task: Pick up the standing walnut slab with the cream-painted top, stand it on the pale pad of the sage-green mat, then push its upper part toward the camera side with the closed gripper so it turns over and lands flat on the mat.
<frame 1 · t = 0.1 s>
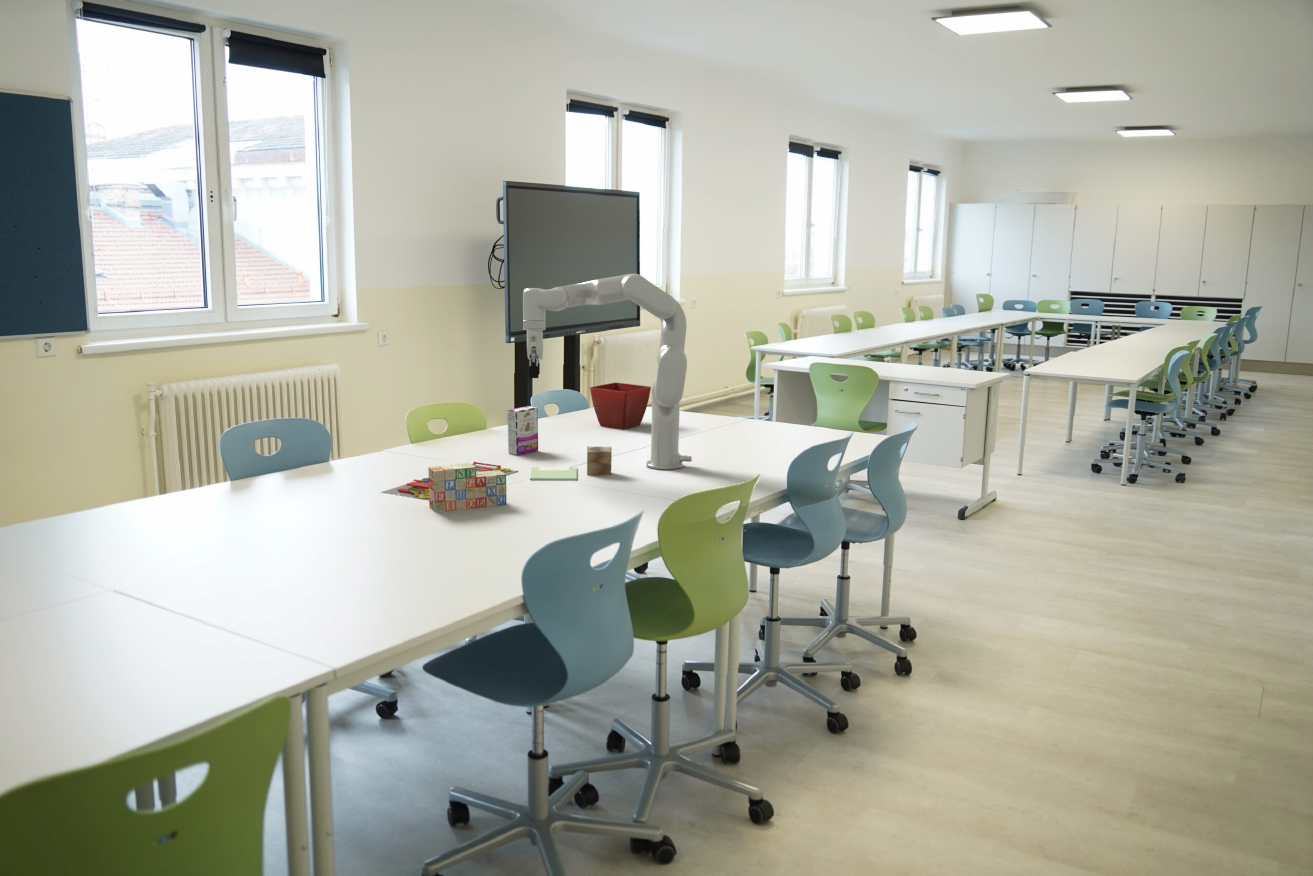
hand: (534, 376, 333), 31 cm above the table, fingers open, 9 cm apart
green mat: (553, 474, 327), on the table
gear board: (452, 483, 315), on the table
walnut slab: (599, 474, 329), on the table
plant pot: (620, 426, 417), on the table
candy bar box: (523, 453, 360), on the table
stack of blocks: (468, 507, 286), on the table
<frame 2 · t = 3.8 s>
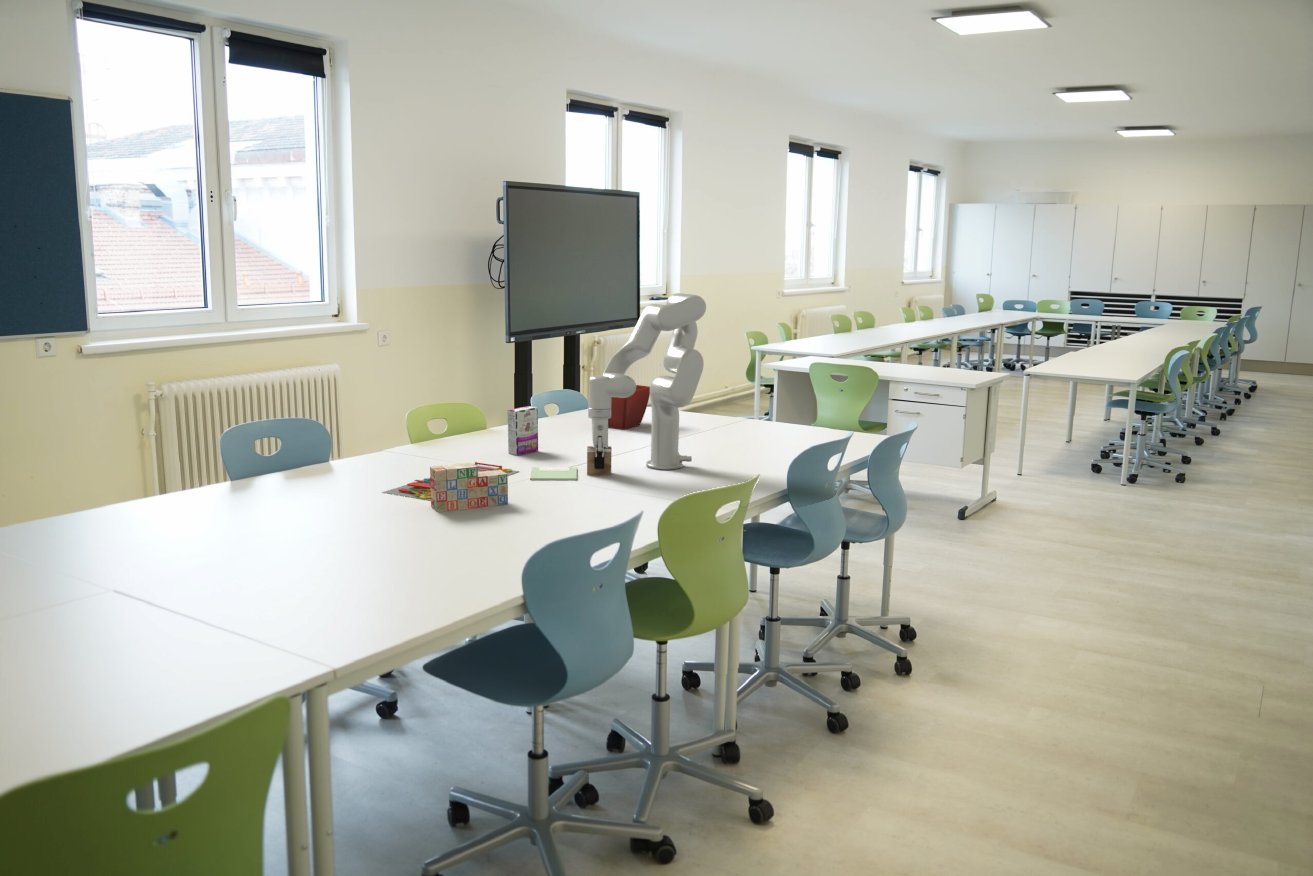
hand: (599, 466, 329), 3 cm above the table, fingers closed on walnut slab, 4 cm apart
walnut slab: (599, 474, 329), on the table, touching gripper
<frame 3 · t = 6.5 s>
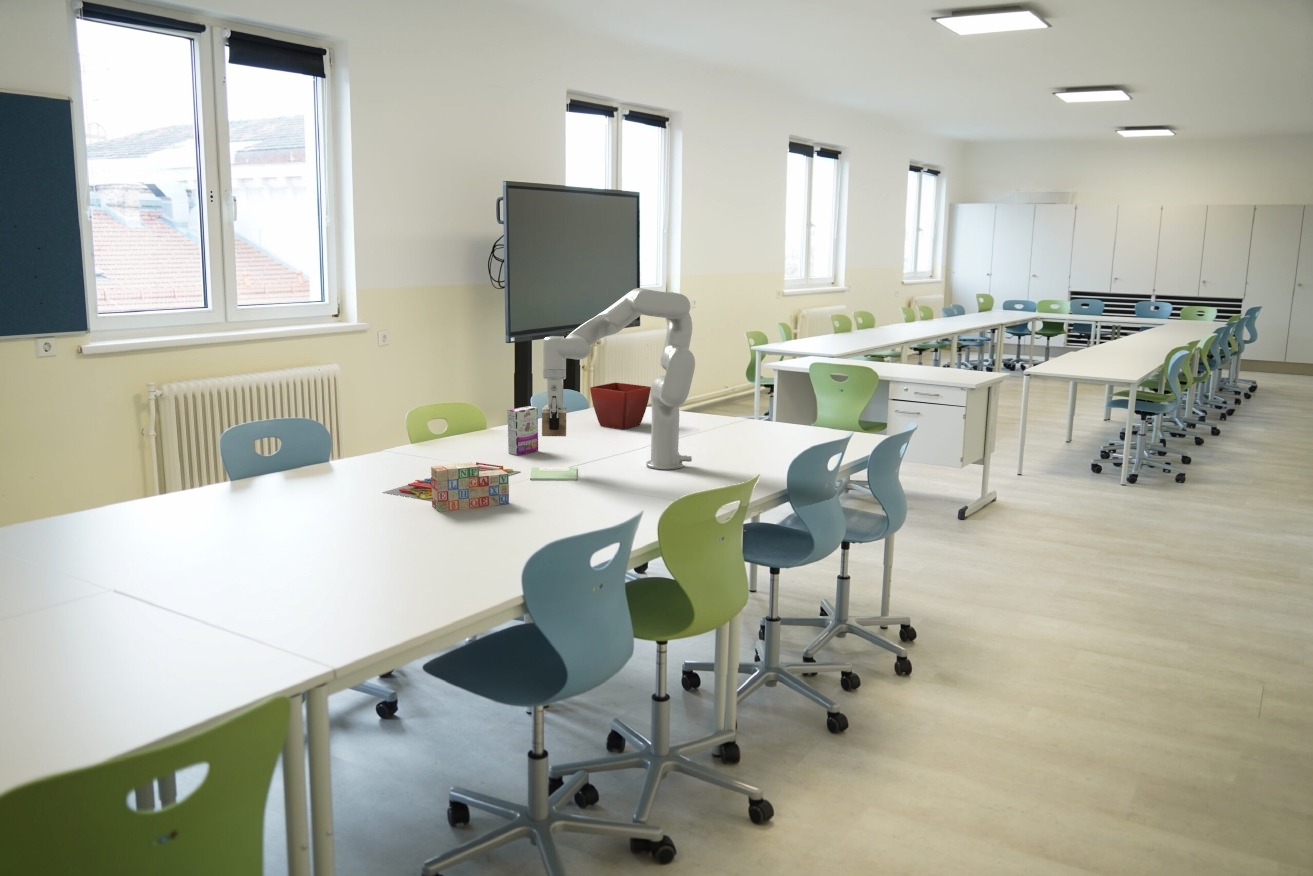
hand: (554, 427, 329), 15 cm above the table, fingers closed on walnut slab, 4 cm apart
walnut slab: (554, 435, 329), point 12 cm above the table, touching gripper
when the fingers open (4 cm above the table, at t = 9.0 s): walnut slab stays where it is, resting on green mat.
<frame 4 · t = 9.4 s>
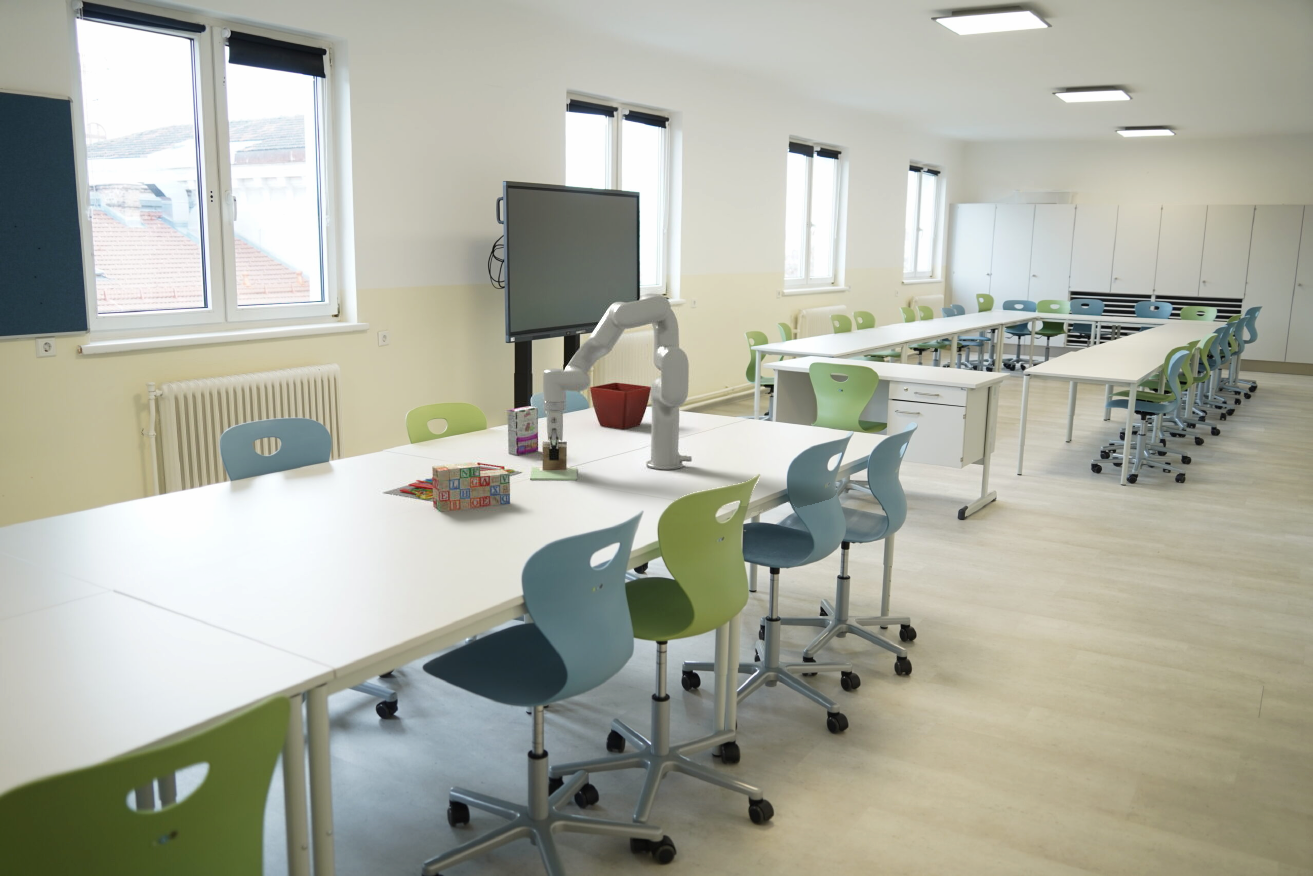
hand: (554, 457, 331), 5 cm above the table, fingers open, 8 cm apart
walnut slab: (554, 468, 332), point 1 cm above the table, touching green mat
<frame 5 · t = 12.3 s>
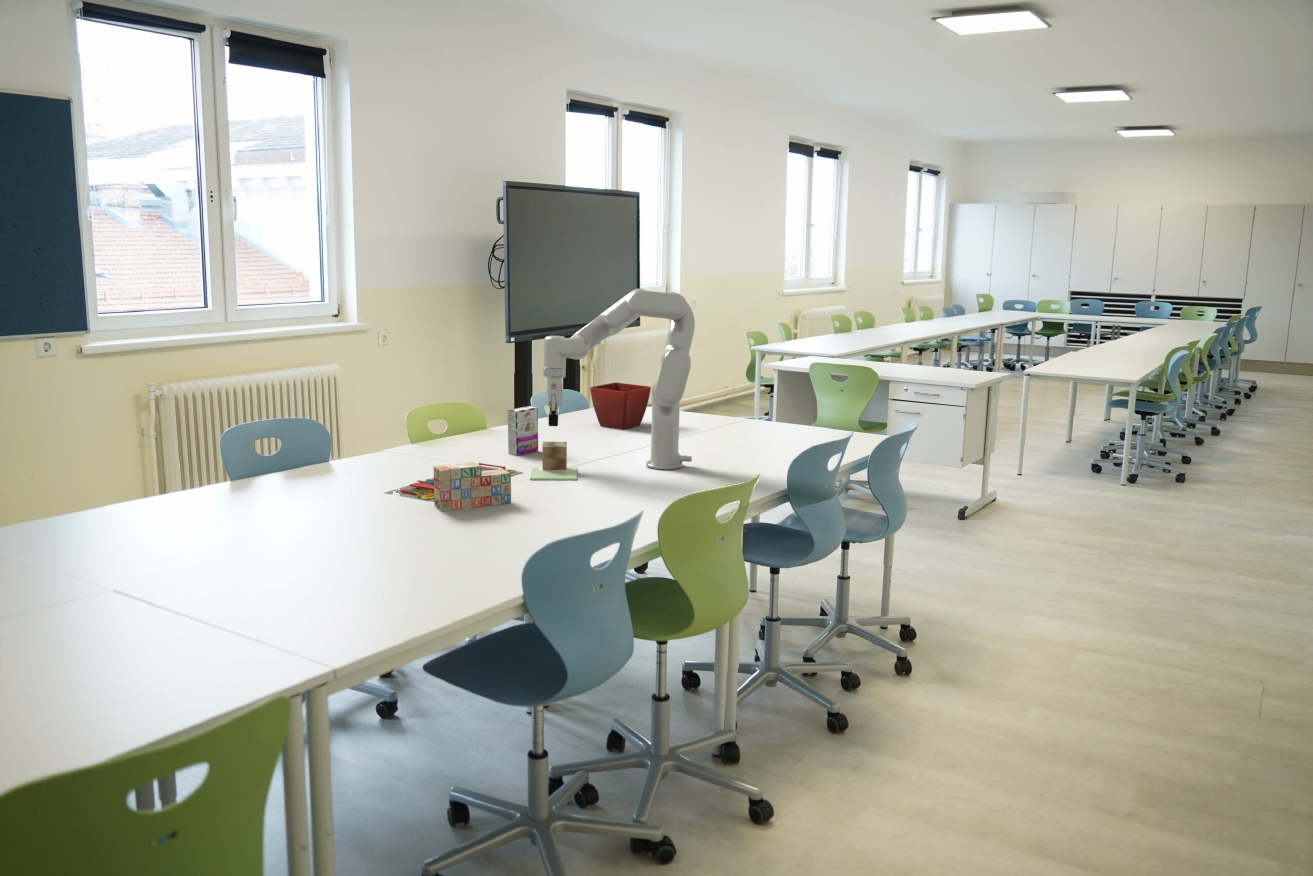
hand: (553, 425, 337), 14 cm above the table, fingers closed
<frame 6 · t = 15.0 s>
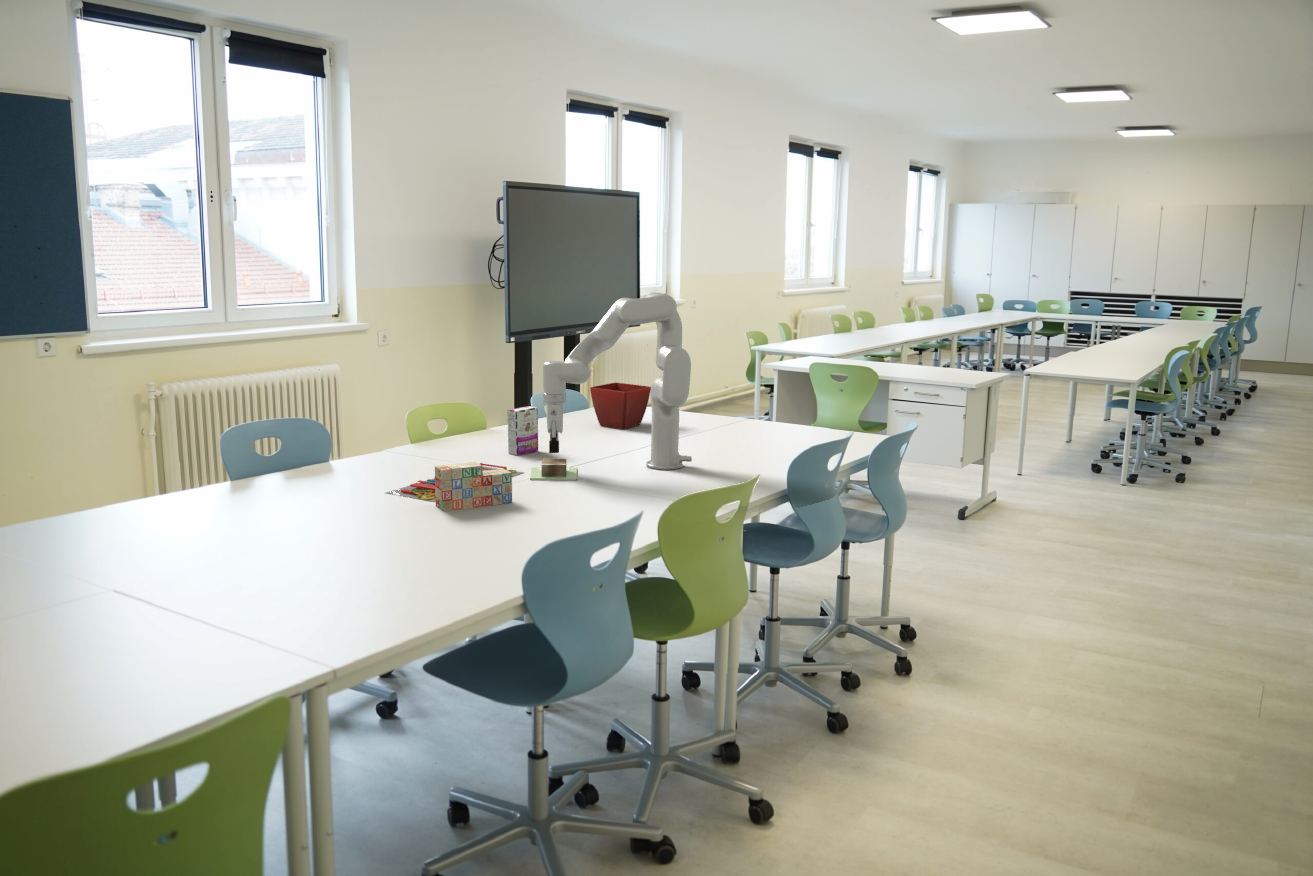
hand: (554, 452, 329), 7 cm above the table, fingers closed
walnut slab: (554, 464, 329), point 3 cm above the table, tilted 90°, touching green mat
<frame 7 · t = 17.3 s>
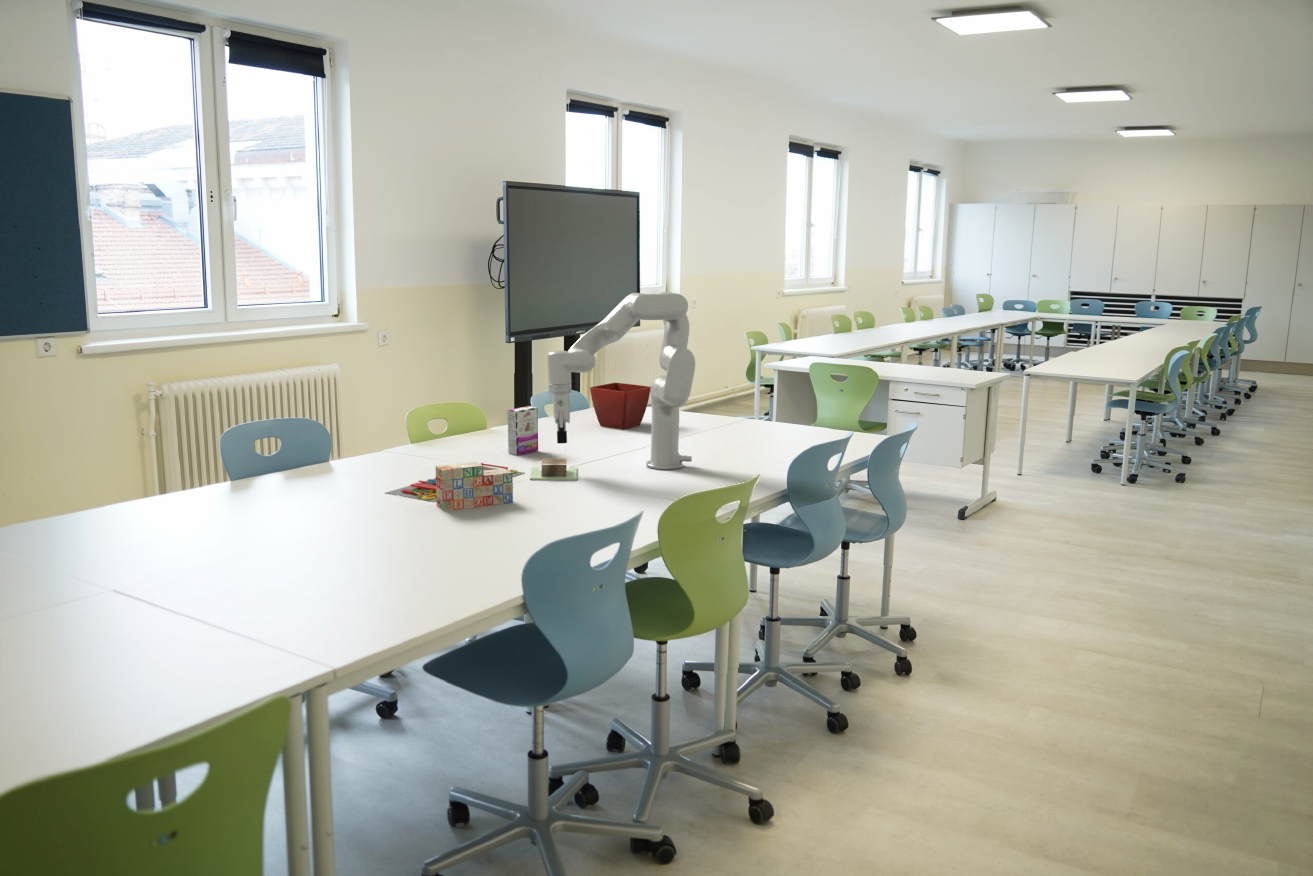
hand: (562, 442, 328), 10 cm above the table, fingers closed
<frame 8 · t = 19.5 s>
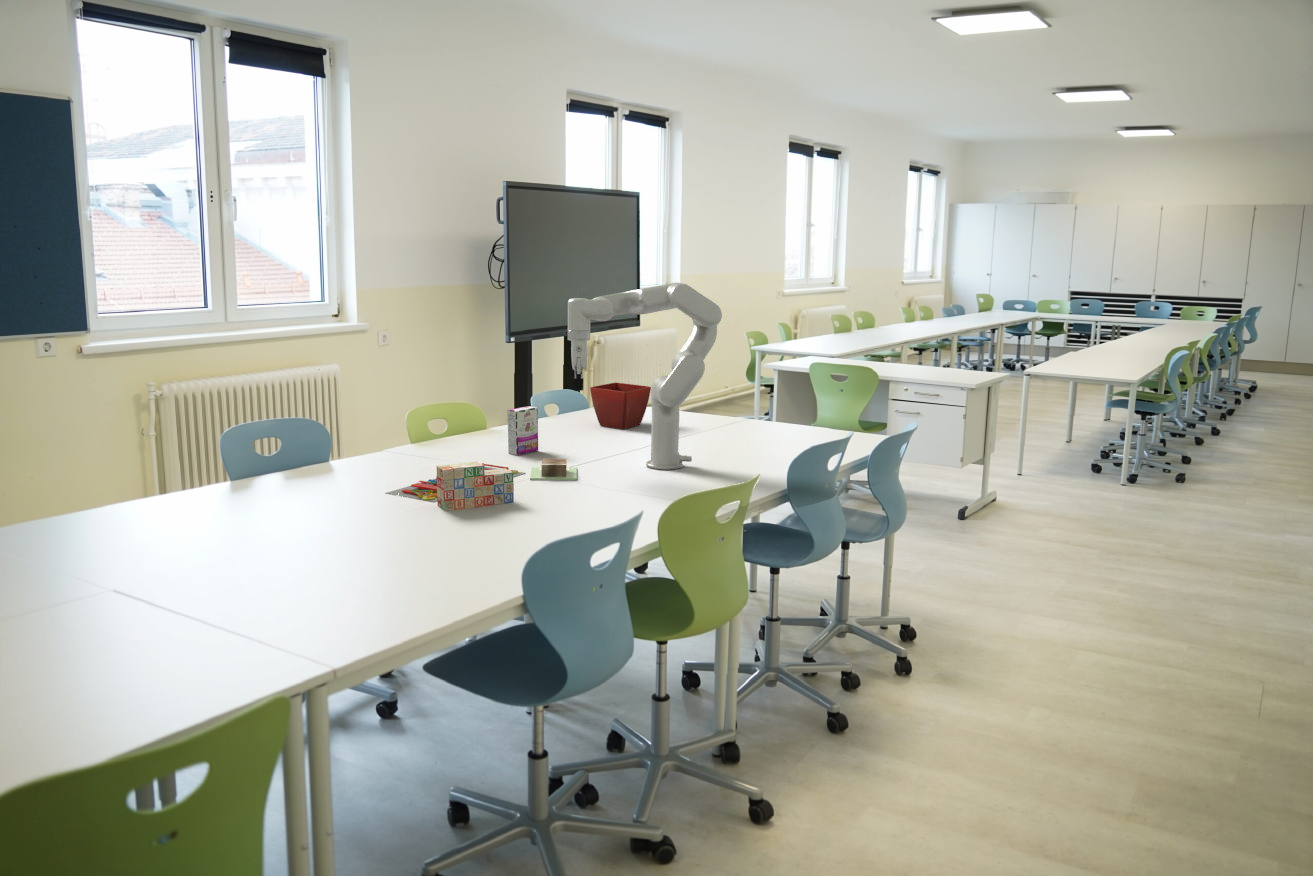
hand: (578, 390, 331), 27 cm above the table, fingers closed
at the end: walnut slab tilted 90°; walnut slab inside the target area (4.6 cm from its centre), point 2.7 cm above the table; the gripper is holding nothing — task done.
